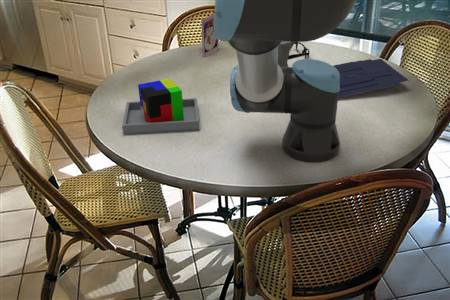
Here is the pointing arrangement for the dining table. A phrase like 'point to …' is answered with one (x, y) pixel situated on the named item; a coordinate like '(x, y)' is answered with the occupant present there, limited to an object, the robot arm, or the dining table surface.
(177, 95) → the puzzle toy
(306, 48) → the glasses
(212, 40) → the greeting card
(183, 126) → the tray
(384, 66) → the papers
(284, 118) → the dining table surface
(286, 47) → the coffeepot
